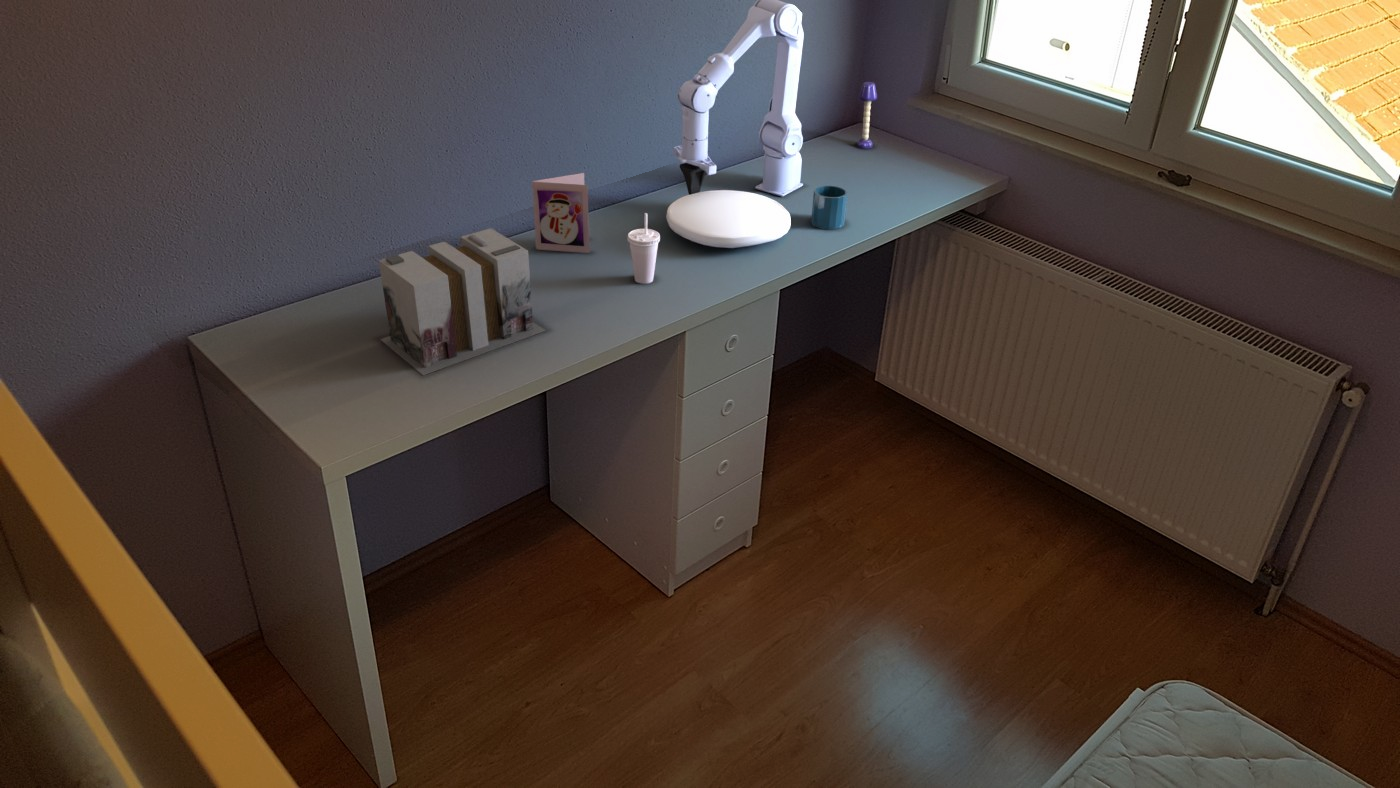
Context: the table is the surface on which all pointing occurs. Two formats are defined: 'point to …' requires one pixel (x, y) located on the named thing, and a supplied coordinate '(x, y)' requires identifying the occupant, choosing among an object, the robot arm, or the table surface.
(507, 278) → the model building
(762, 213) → the white round cushion
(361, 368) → the table surface
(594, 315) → the table surface
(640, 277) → the smoothie
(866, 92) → the toy lamp
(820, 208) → the teacup
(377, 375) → the table surface
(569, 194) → the greeting card
